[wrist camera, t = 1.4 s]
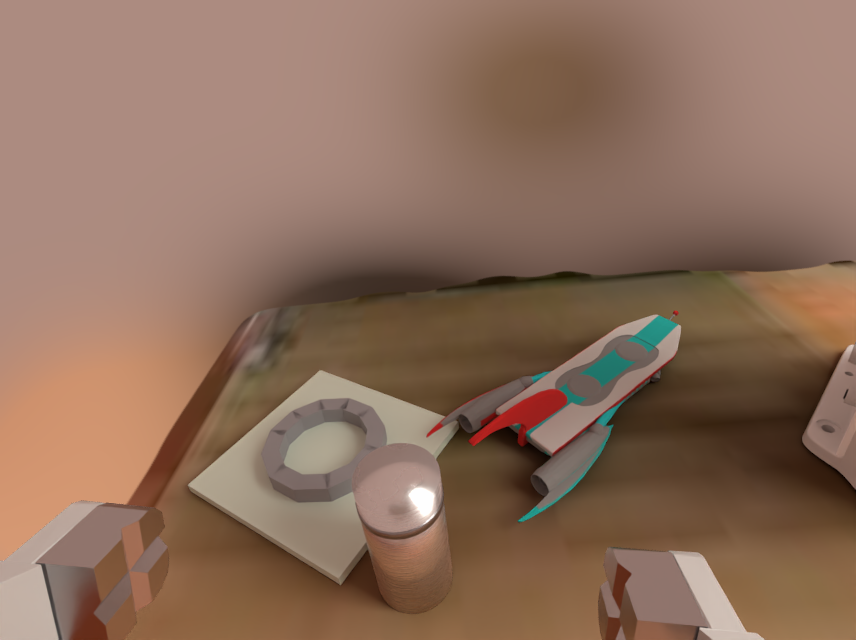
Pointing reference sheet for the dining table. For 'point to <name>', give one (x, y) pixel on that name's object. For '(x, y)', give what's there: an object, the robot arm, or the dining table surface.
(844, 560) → the dining table surface
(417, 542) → the piston
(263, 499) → the ring plate
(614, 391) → the toy spaceship
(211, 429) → the dining table surface
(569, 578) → the dining table surface
